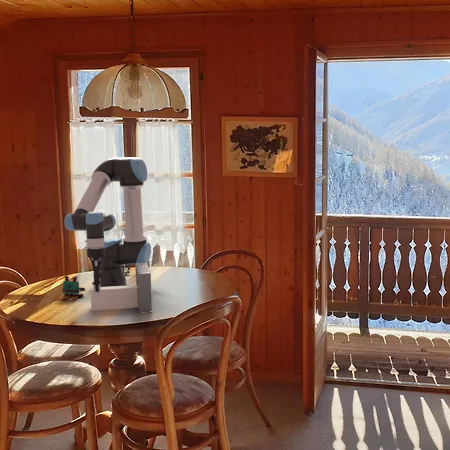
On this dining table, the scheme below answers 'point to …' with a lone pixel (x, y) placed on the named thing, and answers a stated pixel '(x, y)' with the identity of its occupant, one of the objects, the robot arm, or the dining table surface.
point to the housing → (144, 287)
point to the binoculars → (71, 288)
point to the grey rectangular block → (115, 297)
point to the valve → (126, 269)
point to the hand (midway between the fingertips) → (97, 295)
